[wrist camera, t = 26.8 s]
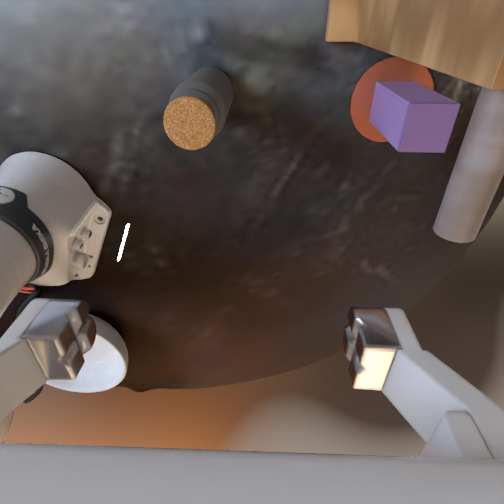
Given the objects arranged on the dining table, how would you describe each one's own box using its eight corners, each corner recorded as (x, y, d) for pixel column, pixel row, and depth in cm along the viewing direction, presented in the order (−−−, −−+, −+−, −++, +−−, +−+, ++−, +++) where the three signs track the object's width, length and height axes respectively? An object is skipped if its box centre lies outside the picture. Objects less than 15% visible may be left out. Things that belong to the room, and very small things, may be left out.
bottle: (243, 93, 43) (235, 126, 31) (211, 126, 46) (192, 168, 34) (209, 54, 41) (185, 73, 29) (177, 91, 43) (143, 122, 31)
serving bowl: (40, 358, 75) (22, 386, 70) (21, 286, 63) (-3, 313, 58) (137, 371, 77) (127, 400, 71) (136, 303, 65) (124, 331, 59)
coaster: (406, 149, 47) (407, 150, 47) (337, 129, 46) (338, 130, 45) (449, 69, 41) (450, 70, 41) (371, 44, 40) (372, 44, 40)
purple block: (444, 152, 35) (460, 103, 32) (398, 152, 35) (410, 103, 32) (404, 121, 44) (414, 81, 42) (368, 120, 44) (376, 81, 42)
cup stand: (394, 117, 45) (589, 279, 18) (316, 117, 45) (394, 275, 18) (439, -79, 34) (1084, -405, 7) (336, -78, 34) (595, -390, 8)
